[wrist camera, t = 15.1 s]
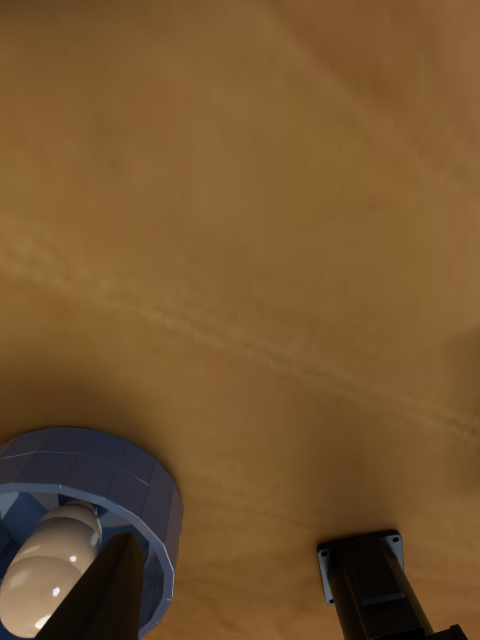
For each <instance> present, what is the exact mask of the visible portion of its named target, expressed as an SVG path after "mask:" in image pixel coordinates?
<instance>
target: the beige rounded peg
mask: <svg viewBox="0 0 480 640" xmlns="http://www.w3.org/2000/svg"><path fill="white" fill-rule="evenodd" d="M101 543H102V527H101V523H100V520H99V519H98V517H97V515H96V510H95V508H94V507H93V506H92V505H91V504H90V503H88V502H86V501H83V500H72V501H69V502H67V503H65V504H64V505H61V506H58V507H56V508H54V509H52V510H50V511H49V512H47V513H46V514H45V515H43V516H42V517H41V518H40V519H39V520H38V521H37V522H36V524H35V525H34V526H33V528H32V529H31V531H30V532H29V534H28V536H27V537H26V539H25V541H24V542H23V544H22V546H21V547H20V549H19V551H18V552H17V554H16V556H15V558H14V559H13V561H12V563H11V564H10V566H9V568H8V569H7V571H6V573H5V575H4V577H3V579H2V582H1V584H0V621H1V623H2V624H3V626H4V628H5V629H6V630H7V631H8V632H10V633H11V634H13V635H15V636H18V637H21V638H34V637H35V636H36V634H37V633H38V632H39V631H40V629H41V628H42V627H43V625H44V624H45V623H46V621H47V620H48V619H49V618H50V616H51V615H52V614H53V612H54V611H55V610H56V608H57V607H58V606H59V605H60V603H61V602H62V601H63V599H64V598H65V597H66V595H67V594H68V593H69V592H70V590H71V589H72V588H73V586H74V585H75V584H76V583H77V581H78V580H79V579H80V577H81V576H82V575H83V573H84V572H85V571H86V570H87V568H88V567H89V566H90V564H91V563H92V562H93V560H94V559H95V558H96V557H97V555H98V554H99V551H100V547H101Z"/></svg>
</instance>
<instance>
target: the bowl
mask: <svg viewBox="0 0 480 640" xmlns="http://www.w3.org/2000/svg"><path fill="white" fill-rule="evenodd" d="M72 500H83V501H86V502H88V503H90V504H91V505H92V506H93V507H94V508H95V510H96V515H97V517H98V519H99V520H100V523H101V527H102V543H101V547H100V551H101V550H102V549H103V547H104V546H105V545H106V544H107V542H108V541H109V540H110V538H111V537H112V536H113V535H115V534H117V533H121V532H126V531H132V532H133V533H134V534H135V536H136V538H137V541H138V543H139V546H140V548H141V550H142V553H143V556H144V562H145V567H144V579H143V590H142V601H141V612H140V623H139V634H138V640H140V639H141V638H143V637H144V636H145V635H146V634H147V633H148V632H150V631H151V630H152V629H153V628H154V627H156V626H157V625H158V624H159V623H160V621H161V619H162V617H163V616H164V614H165V612H166V610H167V609H168V607H169V605H170V603H171V601H172V600H173V595H174V587H175V579H176V571H177V563H178V555H179V547H180V538H181V530H182V518H183V504H182V501H181V498H180V496H179V493H178V490H177V487H176V484H175V482H174V480H173V479H172V478H171V476H170V475H169V474H168V473H167V472H166V470H165V469H164V468H163V467H162V465H161V464H160V463H159V462H158V461H157V459H155V458H154V457H152V456H151V455H149V454H148V453H146V452H145V451H143V450H142V449H140V448H139V447H137V446H136V445H134V444H133V443H131V442H130V441H127V440H125V439H122V438H119V437H116V436H113V435H110V434H107V433H104V432H101V431H97V430H93V429H82V428H66V427H54V428H49V429H44V430H39V431H34V432H30V433H25V434H20V435H18V436H17V437H15V438H13V439H11V440H9V441H8V442H6V443H4V444H2V445H0V584H1V582H2V579H3V577H4V575H5V573H6V571H7V569H8V568H9V566H10V564H11V563H12V561H13V559H14V558H15V556H16V554H17V552H18V551H19V549H20V547H21V546H22V544H23V542H24V541H25V539H26V537H27V536H28V534H29V532H30V531H31V529H32V528H33V526H34V525H35V524H36V522H37V521H38V520H39V519H40V518H41V517H42V516H43V515H45V514H46V513H47V512H49V511H50V510H52V509H54V508H56V507H58V506H61V505H64V504H65V503H67V502H69V501H72ZM100 551H99V553H100ZM0 640H33V638H21V637H18V636H15V635H13V634H11V633H10V632H8V631H7V630H6V629H5V628H4V626H3V624H2V623H1V621H0Z"/></svg>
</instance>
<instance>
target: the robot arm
mask: <svg viewBox="0 0 480 640" xmlns="http://www.w3.org/2000/svg"><path fill="white" fill-rule="evenodd" d="M317 555H318V561H319V567H320V572H321V578H322V584H323V589H324V595H325V599H326V603H327V604H328V605H335V607H336V611H337V614H338V618H339V621H340V625H341V628H342V632H343V635H344V639H345V640H468V639H467V637H466V636H465V634H464V633H463V631H462V629H461V628H460V626H459V625H458V624H456V625H452V626H450V629H446V630H443V631H440V632H437V633H434V631H433V629H432V627H431V625H430V623H429V621H428V619H427V617H426V615H425V613H424V611H423V609H422V607H421V605H420V603H419V601H418V599H417V597H416V595H415V593H414V591H413V589H412V587H411V585H410V583H409V581H408V579H407V577H406V575H405V573H404V560H403V543H402V536H401V535H400V533H399V531H397V530H391V531H386V532H380V533H375V534H370V535H365V536H360V537H355V538H350V539H345V540H340V541H335V542H330V543H325V544H321V545H319V546H318V547H317ZM144 567H145V562H144V556H143V553H142V550H141V548H140V546H139V543H138V541H137V538H136V536H135V534H134V533H133V532H132V531H126V532H121V533H117V534H115V535H113V536H112V537H111V538H110V540H109V541H108V542H107V544H106V545H105V546H104V547H103V549H102V550H101V551H100V553H99V554H98V555H97V557H96V558H95V559H94V560H93V562H92V563H91V564H90V566H89V567H88V568H87V570H86V571H85V572H84V573H83V575H82V576H81V577H80V579H79V580H78V581H77V583H76V584H75V585H74V586H73V588H72V589H71V590H70V592H69V593H68V594H67V595H66V597H65V598H64V599H63V601H62V602H61V603H60V605H59V606H58V607H57V608H56V610H55V611H54V612H53V614H52V615H51V616H50V618H49V619H48V620H47V621H46V623H45V624H44V625H43V627H42V628H41V629H40V631H39V632H38V633H37V634H36V636H35V637H34V638H33V640H138V634H139V623H140V612H141V601H142V590H143V579H144Z"/></svg>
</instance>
